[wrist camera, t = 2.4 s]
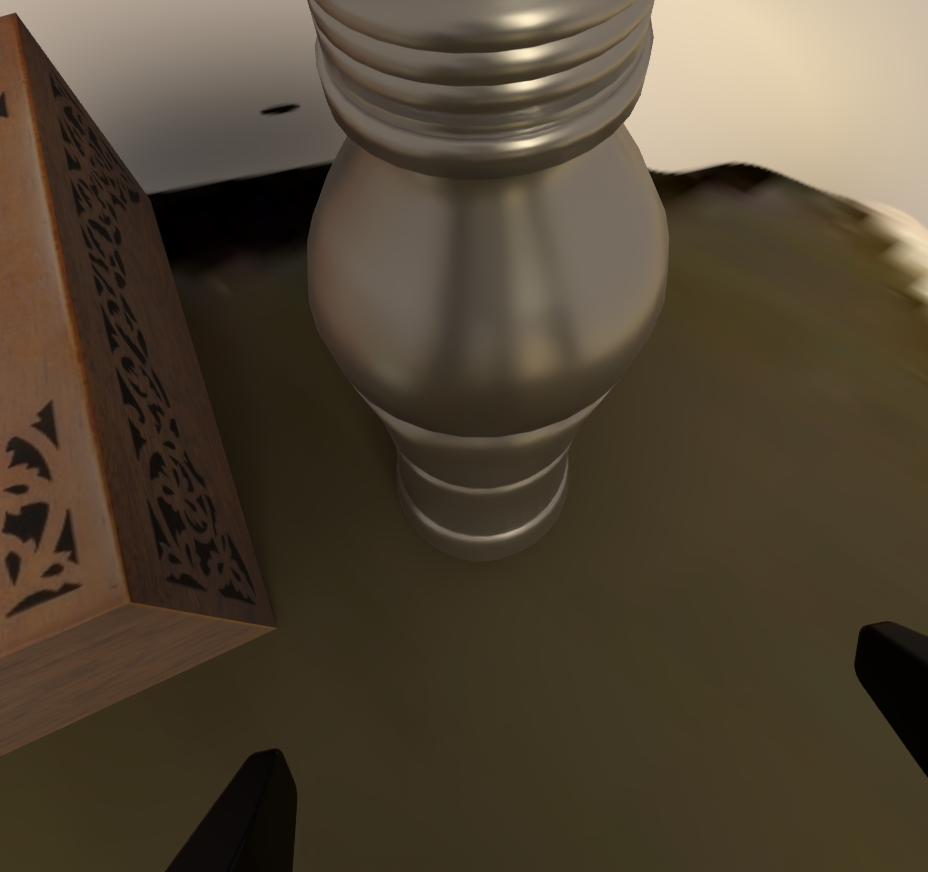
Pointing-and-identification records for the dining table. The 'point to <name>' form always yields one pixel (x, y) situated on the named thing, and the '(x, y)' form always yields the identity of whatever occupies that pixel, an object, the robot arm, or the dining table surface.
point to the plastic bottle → (485, 243)
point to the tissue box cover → (100, 431)
